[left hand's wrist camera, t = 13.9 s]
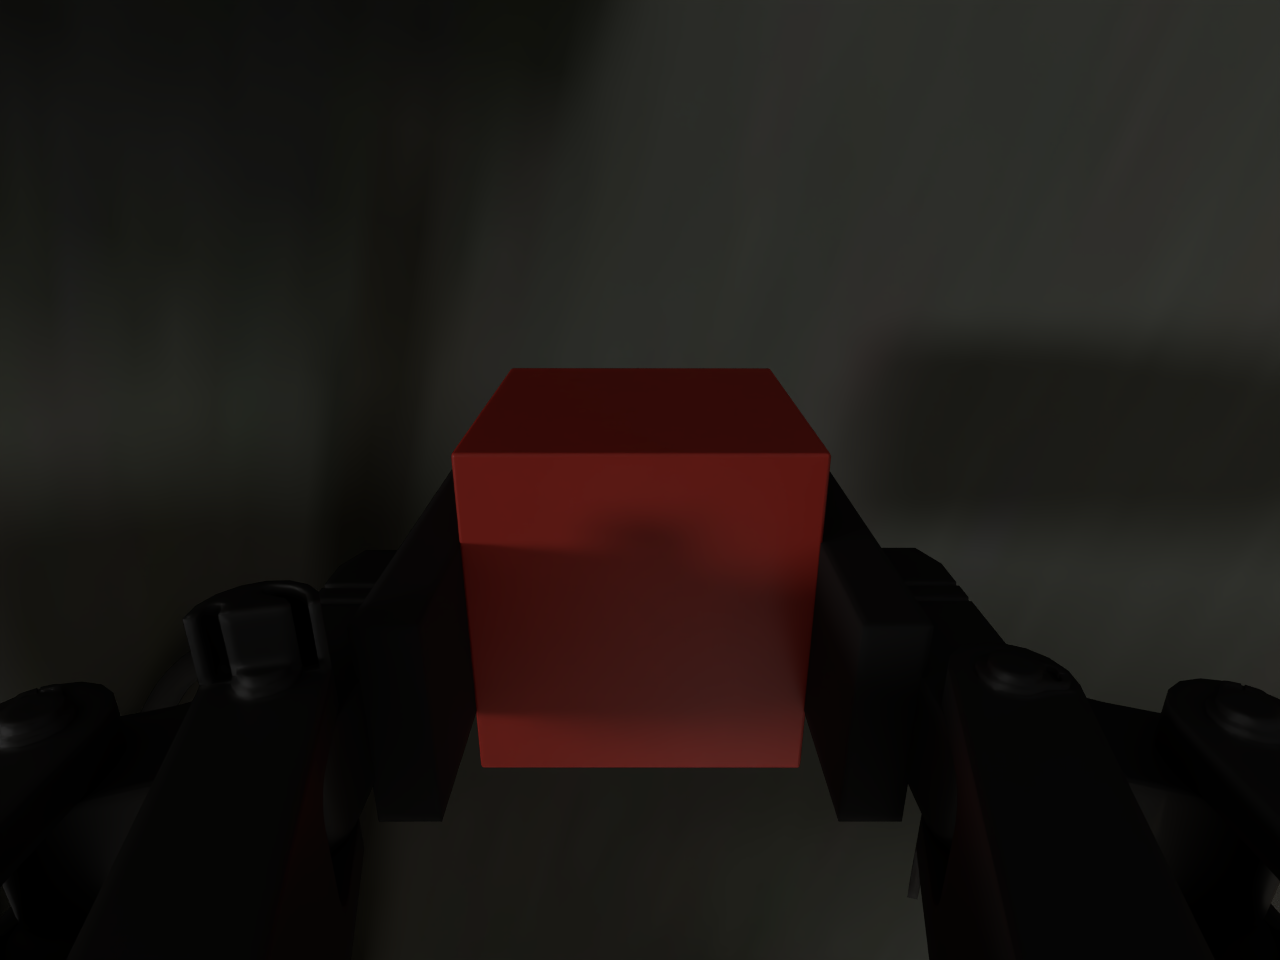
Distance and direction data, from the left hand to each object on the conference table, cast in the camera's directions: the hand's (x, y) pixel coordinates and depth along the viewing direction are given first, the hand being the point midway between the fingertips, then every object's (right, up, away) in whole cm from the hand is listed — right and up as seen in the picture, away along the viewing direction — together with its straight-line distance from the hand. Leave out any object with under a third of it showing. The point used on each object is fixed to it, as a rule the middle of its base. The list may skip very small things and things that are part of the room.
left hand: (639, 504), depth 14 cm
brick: (0, 0, 0) cm, 0 cm away
